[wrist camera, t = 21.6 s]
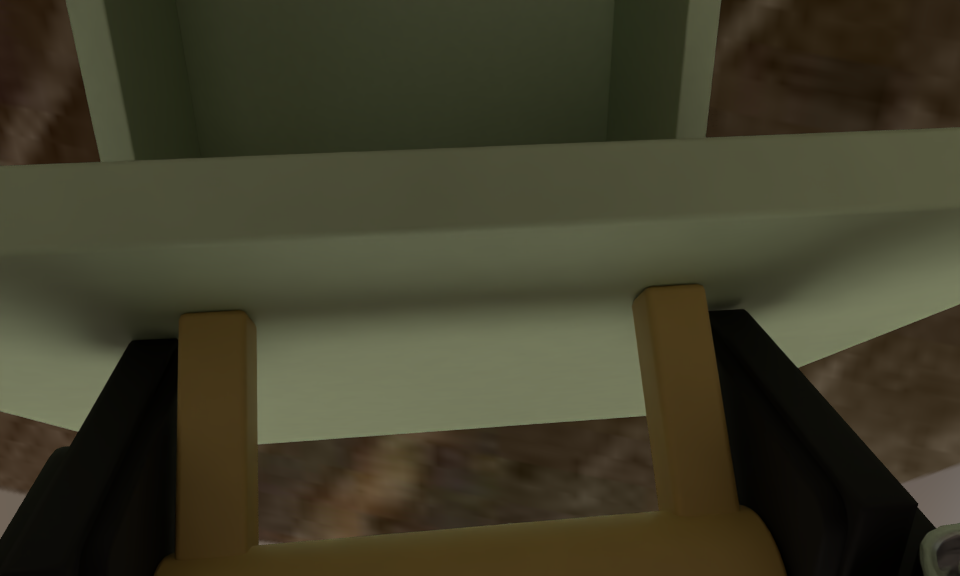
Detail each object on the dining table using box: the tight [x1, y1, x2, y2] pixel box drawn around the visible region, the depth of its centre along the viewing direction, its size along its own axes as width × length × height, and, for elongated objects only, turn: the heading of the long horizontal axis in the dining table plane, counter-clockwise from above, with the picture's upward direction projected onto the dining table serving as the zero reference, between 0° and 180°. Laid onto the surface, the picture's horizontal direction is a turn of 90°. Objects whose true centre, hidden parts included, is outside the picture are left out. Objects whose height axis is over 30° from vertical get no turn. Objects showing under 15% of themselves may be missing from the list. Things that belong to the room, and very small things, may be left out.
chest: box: [66, 0, 721, 162], centre depth 23 cm, size 16×15×7 cm
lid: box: [0, 127, 960, 576], centre depth 14 cm, size 16×15×5 cm
